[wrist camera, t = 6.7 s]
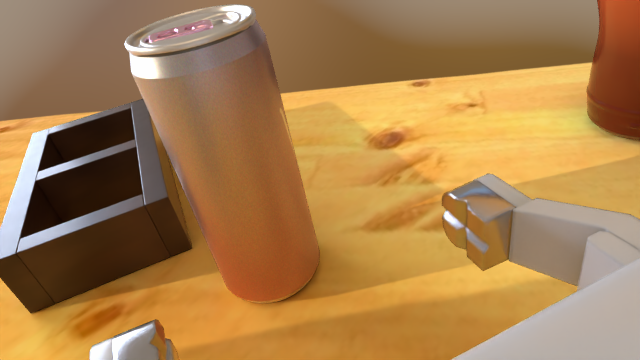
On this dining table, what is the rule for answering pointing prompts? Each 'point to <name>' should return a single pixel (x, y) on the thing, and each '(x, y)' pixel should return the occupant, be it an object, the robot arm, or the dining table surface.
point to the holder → (90, 207)
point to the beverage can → (229, 145)
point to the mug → (616, 70)
